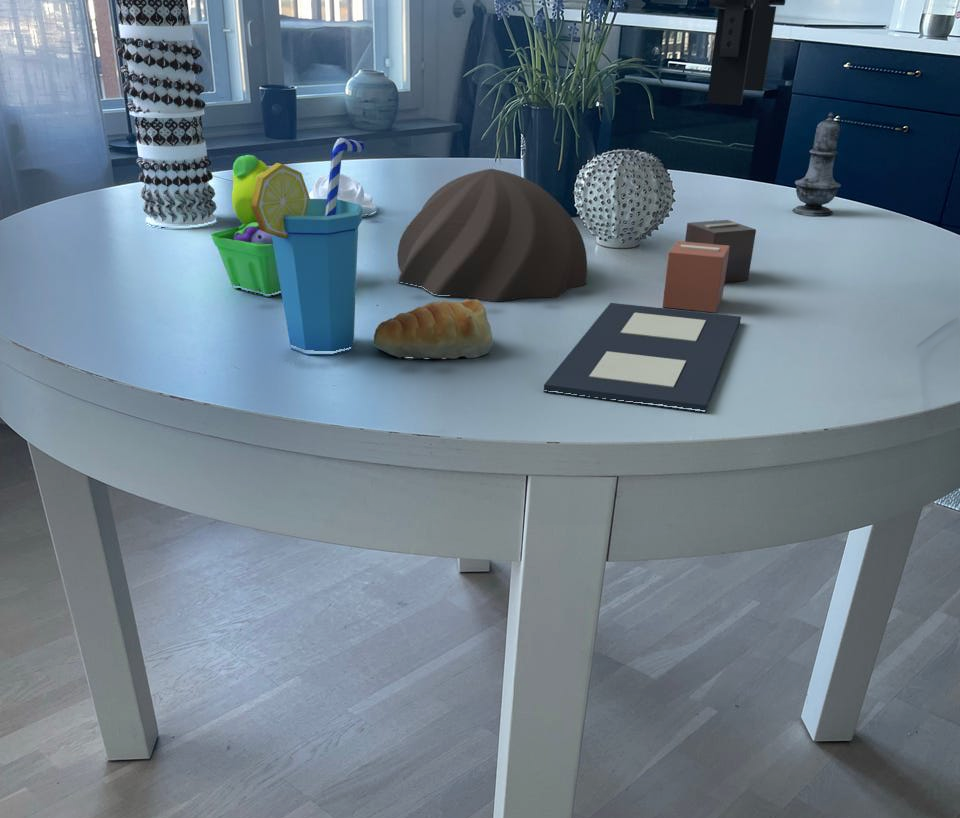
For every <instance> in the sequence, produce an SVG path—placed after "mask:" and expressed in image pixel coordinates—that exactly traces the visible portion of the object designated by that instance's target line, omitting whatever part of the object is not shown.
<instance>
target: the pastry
mask: <svg viewBox="0 0 960 818" xmlns="http://www.w3.org/2000/svg"><path fill="white" fill-rule="evenodd" d="M487 315H488V314H487V311H486V308H485V306H484V305H483V303H482V301H480V299H476V298H474V299H469V298H466V299H464V300H463V301H447V300H446V301H444V300H443V301H432V302H429V303H426V304H424V305H423V306H417V307H415V308H414V309H412V310H410V311H406V312H401V313H400V312H399V313H398V314H397V315H396V316H394V317H393V318H392V317H390V318H388V319H386V320H384V321H382V322H380V323H379V324H378V326H377V327H375V330H374V331H375V332H374V334H373V345H374V346H375V347H376V348H378V349H380V350H381V351H383V352H385V353H387V354H389V355H392V356H395V357H397V358H398V359H401V358H399V357H413V358H405V359H406V360H410V361H411V360H414V359H421V358H430V359H431V360H432V359H440V358H450V359H449V360H452V359H453V360H454V359H455V360H457V359H459V357H465V358H466V359H471V358H472V359H473V358H479V357H481V356H484V355H487V354H489V351H490V349H491V348H492V346H493V344H494V340H493V333H492V327H491V324H490V322H489V320H488V319H489V318H488V316H487ZM475 356H476V357H475ZM416 357H417V358H416ZM430 359H425V360H430Z"/></svg>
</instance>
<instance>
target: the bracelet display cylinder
mask: <svg viewBox="0 0 960 818" xmlns="http://www.w3.org/2000/svg"><path fill="white" fill-rule="evenodd" d="M116 6H117V12H118V18H119V24H118V29H119V35H114V39H115V40H116V41H118V42H119V44H118V45H117V46H116V47H115V53H116V55H117V56H118V57H120V58H121V59H123V60H125V61H126V63H124V64H123V65H122V66H121V67H120V69H119V71H120V74H121V77H123V78H125V79H126V81H125V82H123V84H122V87H123V88H122V89H123V92H124V93H126V94H128V95H129V96H131V97H132V99H130V101H129V102H128V103H127V104H126V107H127V111H128V112H129V116H133V119H134V126H135V132H136V139H137V141H136V149H137V155H138V158H137V159H136V161H135V162H136V163H135V165H136V166H137V167H138V168H140V169H141V170H142V171H141V172H140V173H139V174H138V181H140V182H142V183H144V186H143V187H142V188H141V189H140V197H141V199H143V201H144V203H143V205H142V210H143V212H144V213H145V214H146V215H147V217H145V223H146V222H148V223H150V224H152V225H159V226H188V225H189V226H190V225H198V224H204V223H208V222H212V221H214V220H215V219H217V221H216V222H215V223H213V224H210V225H206V226H201V227H193V228H163V229H167V230H186V229H187V230H189V229H198V228H204V227H208V226H213V225H215V224H216V223H218V218H217V215H216V214H214V213H215V211H216V210H217V204H216V202H215V201H214V200H213V199H214V197H215V196H216V192H215V189H214V188H213V186H211V185H210V183H209V182H210V181H211V180H213V178H214V177H213V176H214V175H213V173H212V171H210V170H208V167H210V166H211V165H212V160H211V158H210V157H209V156H208V151H207V142H206V140H205V138H204V129H203V122H202V116H203V115H205V114H206V113H205V107H206V104H207V103H206V102H205V101H204V100H202V99H201V97H199V96H200V95H201V94H202V93H203V92H204V91H205V88H204V86H203V85H201V84H200V83H199V81H197V79H196V76H197V77H199V75H200V74H201V73H202V72H203V71H204V68H203V66H202V65H201V64H199V63H198V62H197V61H198V60H197V59H199V58H200V57H201V56H202V51H201V50H200V49H199V48H197V46H195V45H194V44H192V41H194V31H193V25H192V24H191V18H190V11H189V10H190V9H189V3H188V0H116ZM146 225H147V226H150V227H152V228H157V229H162V228H161V227H155V226H151V225H149V224H146Z"/></svg>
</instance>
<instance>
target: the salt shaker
mask: <svg viewBox="0 0 960 818" xmlns="http://www.w3.org/2000/svg"><path fill="white" fill-rule="evenodd" d="M827 116H828V118H826V119H825V120H822V121H820V122H819V123H818V124H817V126H816V130H815V134H814V141H813V146H812V149H810V150H809V153H810V159H809V163H808V169H807V172H806V174H805V176H804V177H802V178H800V179H797V180H795V181H794V184H795V185H796V189H795V191H796V192H795V193H796V197H797V198H798V200H799V201H800V202H802V203H803V205H802V204H801V205H797V206H796V207H794V208H792V209H791V212H792V213H794V214H796V215H797V214H798V215H801V216H802V215H803V216H809V217H830V216H833V215H834V212H833V210H831V209H830V208H829V207H827V206H823V205H827V204H829V203H831V202H832V201H833V200H834V199H835V197H836V195H837V193H838V190H839V188H841V186H842V185H841V183H839V182H836V180H835V179H834V175H833V170H834V169H833V168H834V165H835V164H834V163H835V159H836V156H837V155H838V154H839V152H838V151H837V145H838V140H839V135H840V129H841V127H840V124H839V122H837V121H835V120H834V118H833V117H834V114H833V112H832V111H830V112H829V113H828V115H827Z"/></svg>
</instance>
